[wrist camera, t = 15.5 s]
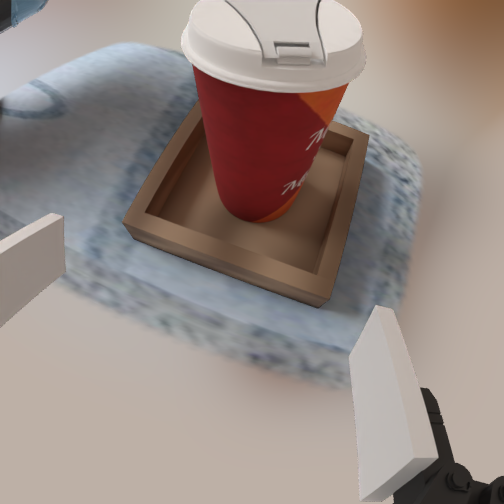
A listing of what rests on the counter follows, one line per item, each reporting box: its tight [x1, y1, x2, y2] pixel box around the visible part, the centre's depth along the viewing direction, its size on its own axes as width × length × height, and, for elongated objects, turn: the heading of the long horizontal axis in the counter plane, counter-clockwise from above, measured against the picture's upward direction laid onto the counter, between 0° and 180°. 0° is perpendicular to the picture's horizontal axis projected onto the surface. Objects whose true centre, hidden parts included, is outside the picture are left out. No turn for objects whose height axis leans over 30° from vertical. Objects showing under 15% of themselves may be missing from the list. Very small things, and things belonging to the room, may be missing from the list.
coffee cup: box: [181, 0, 366, 223], centre depth 17 cm, size 8×8×15 cm
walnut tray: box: [122, 99, 369, 308], centre depth 24 cm, size 14×14×3 cm
